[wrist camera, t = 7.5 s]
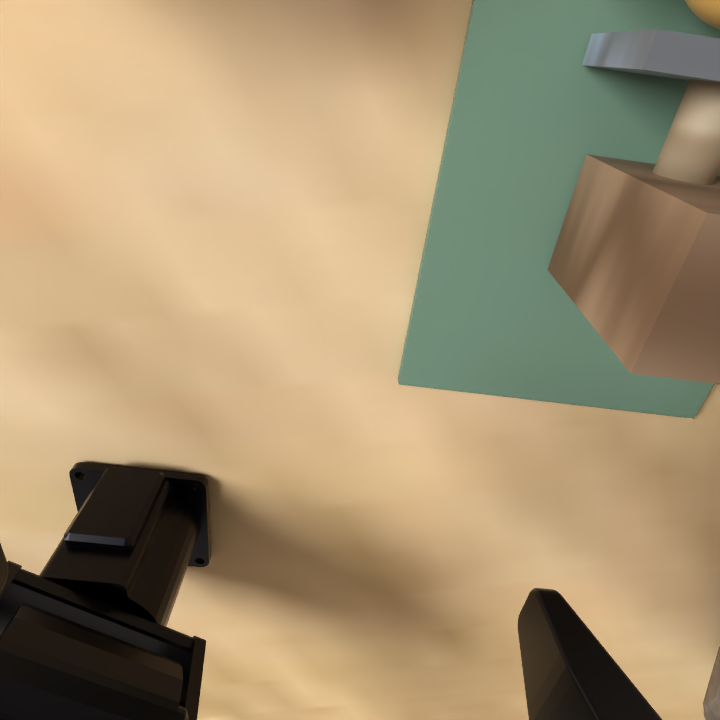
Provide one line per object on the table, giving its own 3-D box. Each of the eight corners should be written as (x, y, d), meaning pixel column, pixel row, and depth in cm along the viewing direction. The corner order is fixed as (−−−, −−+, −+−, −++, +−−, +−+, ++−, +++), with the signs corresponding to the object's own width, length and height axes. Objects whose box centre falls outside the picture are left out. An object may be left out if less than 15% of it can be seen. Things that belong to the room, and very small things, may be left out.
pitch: (687, 411, 23) (694, 418, 22) (398, 377, 22) (398, 384, 22) (1099, -308, 12) (1127, -321, 11) (555, -416, 11) (563, -435, 11)
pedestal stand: (678, 287, 19) (821, 396, 13) (520, 266, 19) (591, 368, 13) (787, 64, 15) (1056, 73, 9) (591, 33, 15) (739, 23, 9)
